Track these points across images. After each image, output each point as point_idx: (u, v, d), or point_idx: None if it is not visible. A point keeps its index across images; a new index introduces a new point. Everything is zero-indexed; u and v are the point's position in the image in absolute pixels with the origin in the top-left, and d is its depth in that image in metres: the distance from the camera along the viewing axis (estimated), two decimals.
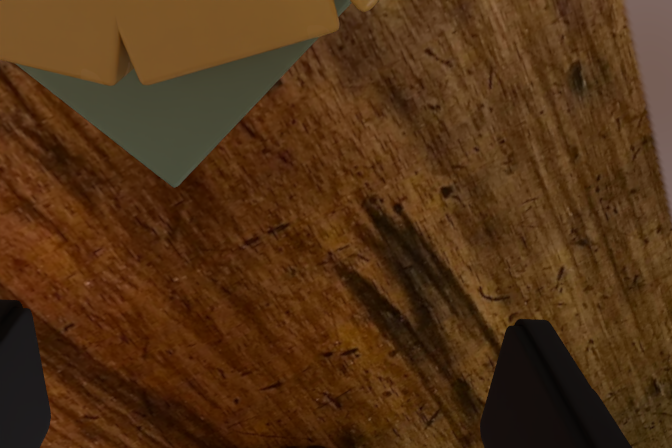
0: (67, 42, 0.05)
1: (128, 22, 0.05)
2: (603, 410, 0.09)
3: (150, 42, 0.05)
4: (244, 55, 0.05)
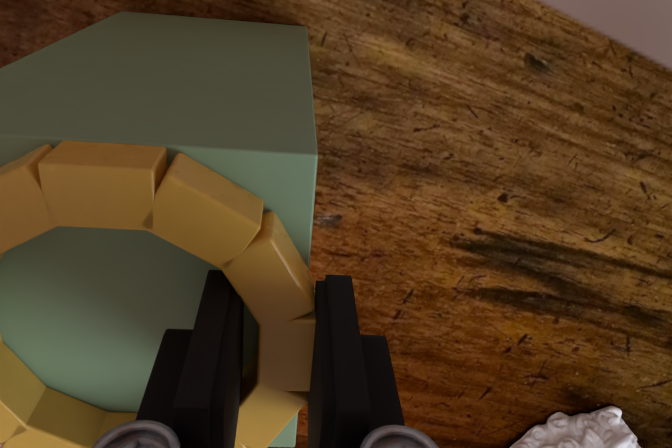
0: None
1: (244, 441, 0.13)
2: (360, 348, 0.10)
3: (254, 441, 0.13)
4: None
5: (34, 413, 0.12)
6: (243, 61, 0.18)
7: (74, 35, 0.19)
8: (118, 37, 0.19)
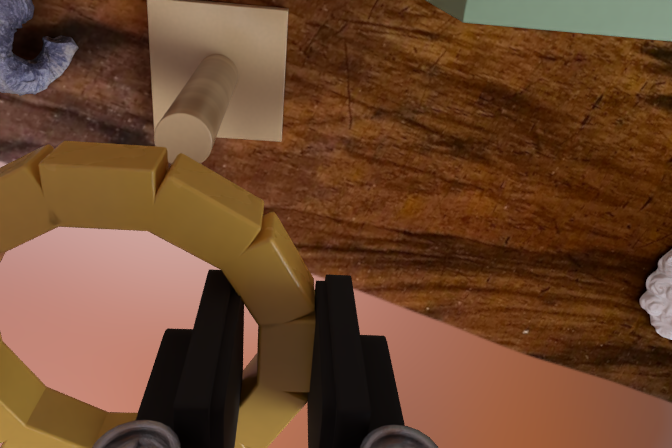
0: None
1: (243, 441, 0.13)
2: (360, 348, 0.10)
3: (254, 441, 0.13)
4: None
5: (34, 413, 0.12)
6: None
7: None
8: None
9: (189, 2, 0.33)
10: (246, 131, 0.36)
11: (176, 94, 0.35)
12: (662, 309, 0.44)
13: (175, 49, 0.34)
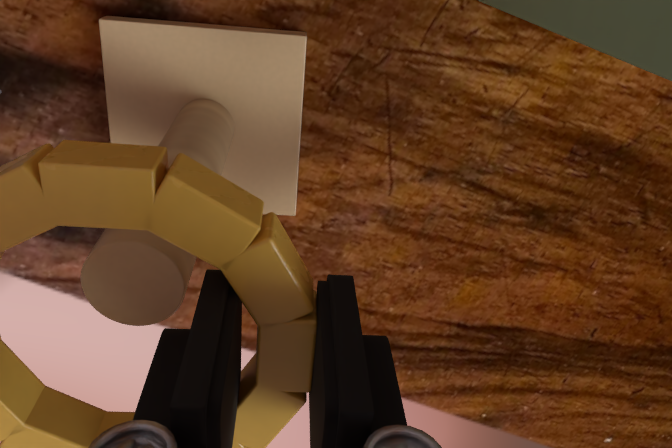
0: None
1: (242, 441, 0.13)
2: (362, 348, 0.10)
3: (253, 441, 0.13)
4: None
5: (33, 412, 0.12)
6: None
7: None
8: None
9: (161, 25, 0.22)
10: None
11: None
12: None
13: (143, 92, 0.23)
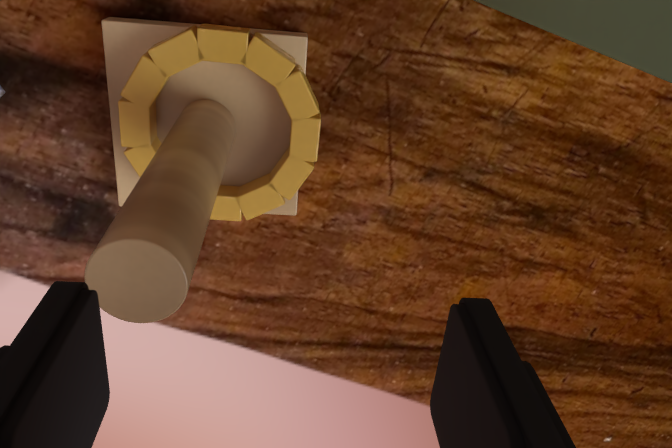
0: (273, 202, 0.25)
1: (280, 192, 0.24)
2: (529, 379, 0.09)
3: (286, 192, 0.25)
4: (302, 183, 0.24)
5: None
6: None
7: None
8: None
9: (164, 26, 0.22)
10: None
11: None
12: None
13: None
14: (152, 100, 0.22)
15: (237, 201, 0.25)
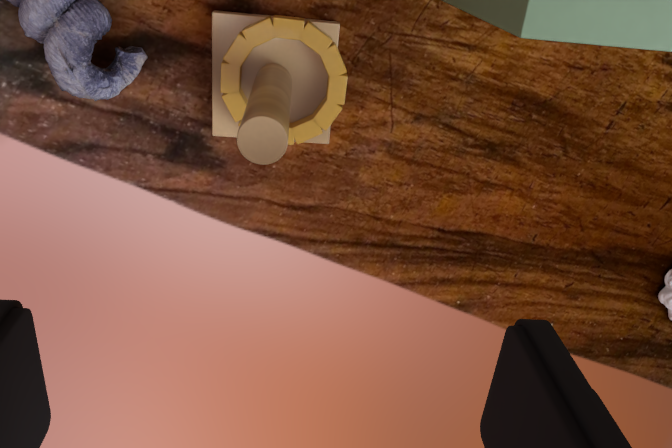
0: (315, 131, 0.38)
1: (320, 125, 0.38)
2: (603, 410, 0.09)
3: (323, 125, 0.38)
4: (334, 119, 0.38)
5: None
6: None
7: None
8: None
9: (250, 16, 0.36)
10: None
11: None
12: None
13: None
14: (242, 62, 0.36)
15: (292, 130, 0.38)
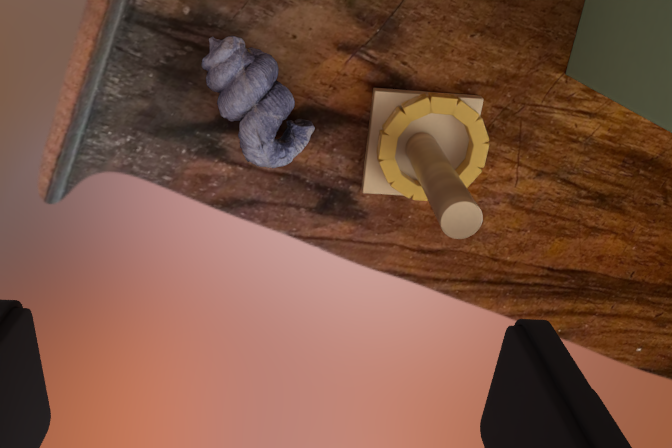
0: None
1: None
2: (603, 410, 0.09)
3: None
4: None
5: (401, 173, 0.43)
6: None
7: None
8: None
9: (407, 93, 0.41)
10: None
11: None
12: None
13: None
14: (400, 134, 0.41)
15: None
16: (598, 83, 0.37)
